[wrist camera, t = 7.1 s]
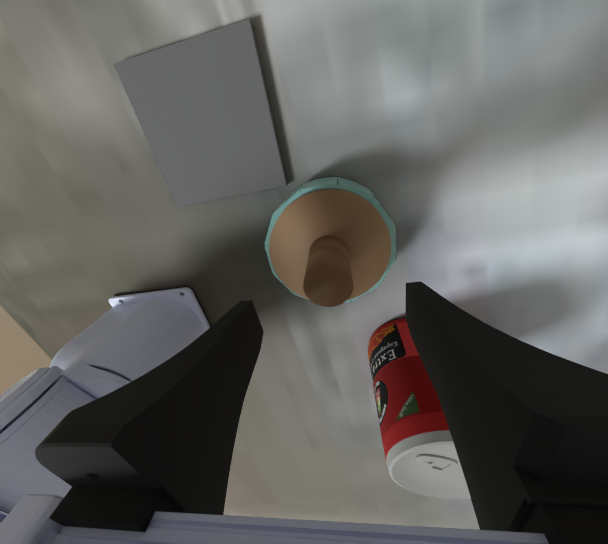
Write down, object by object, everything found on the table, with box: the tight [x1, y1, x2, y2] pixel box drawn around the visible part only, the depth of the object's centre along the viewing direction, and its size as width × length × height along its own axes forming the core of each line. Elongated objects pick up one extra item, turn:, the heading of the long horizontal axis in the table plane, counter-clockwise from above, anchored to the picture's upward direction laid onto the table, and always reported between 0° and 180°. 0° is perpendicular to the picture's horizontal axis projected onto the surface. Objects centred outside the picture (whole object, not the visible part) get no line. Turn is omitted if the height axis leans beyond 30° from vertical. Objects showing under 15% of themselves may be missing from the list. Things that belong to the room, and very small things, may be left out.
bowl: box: [264, 177, 396, 302], centre depth 18 cm, size 9×9×3 cm
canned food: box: [368, 318, 471, 499], centre depth 20 cm, size 8×8×11 cm
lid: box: [269, 188, 391, 307], centre depth 15 cm, size 8×8×5 cm
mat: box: [114, 19, 287, 207], centre depth 17 cm, size 9×9×1 cm
